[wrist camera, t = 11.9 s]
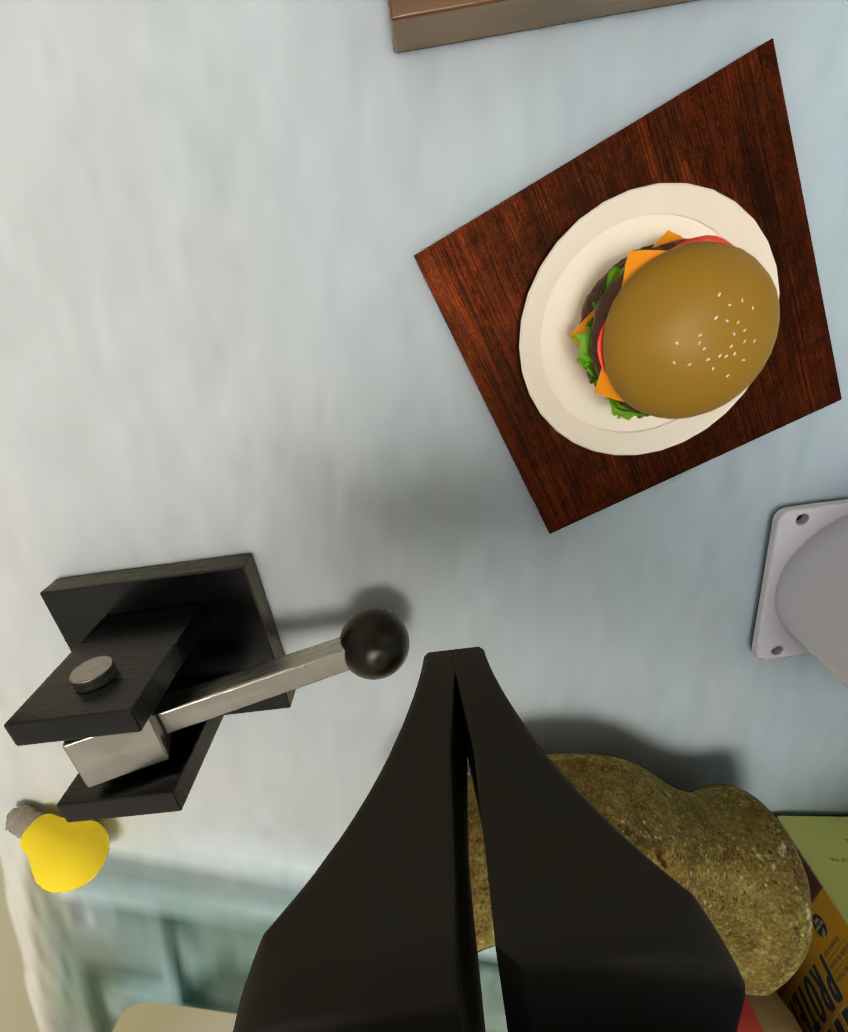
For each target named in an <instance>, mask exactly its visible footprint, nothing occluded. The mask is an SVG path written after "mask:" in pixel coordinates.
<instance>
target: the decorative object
mask: <svg viewBox="0 0 848 1032" xmlns="http://www.w3.org/2000/svg"><path fill="white" fill-rule="evenodd" d="M737 1032H803V1031H802V1029H801V1027H800V1026H799V1024H798V1023H797V1021H796V1019H795V1018H794V1016H793V1015H792V1013H791V1012H790V1011H789V1009H788V1008H787V1006H786V1005H785V1004H784V1002H783V1001H782V1000H781V998H780V997H779V995H778V994H777V992H776V991H774V992H773V993H771V994H769V995H760V996H756V995H748V994H745V1001H744V1005H743V1009H742V1013H741V1017H740V1021H739V1025H738V1029H737Z"/></svg>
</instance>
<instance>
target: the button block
mask: <svg viewBox="0 0 848 1032" xmlns="http://www.w3.org/2000/svg"><path fill="white" fill-rule="evenodd" d="M687 1H692V0H388V8H389V16H390V23H391V31H392V39H393V47H394V51H395V52H396V53H398V52H403V51H409V50H415V49H420V48H426V47H432V46H437V45H443V44H449V43H454V42H460V41H466V40H471V39H477V38H483V37H488V36H494V35H500V34H505V33H511V32H517V31H522V30H528V29H534V28H539V27H545V26H551V25H556V24H562V23H568V22H573V21H579V20H585V19H590V18H596V17H602V16H607V15H613V14H619V13H624V12H630V11H636V10H641V9H647V8H653V7H658V6H664V5H670V4H675V3H681V2H687Z"/></svg>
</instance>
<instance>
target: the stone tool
mask: <svg viewBox="0 0 848 1032" xmlns="http://www.w3.org/2000/svg"><path fill="white" fill-rule="evenodd" d="M547 756H548V757H549V758H550V759H551V761H552V762H553V763H554V764H555V765H556V767H557V768H558V769H559V770H560V771H561V772H562V774H563V775H564V776H565V777H566V778H567V779H568V780H569V781H570V783H571V784H572V785H573V786H574V787H575V788H576V789H577V790H578V791H579V792H580V794H581V795H582V796H583V797H584V798H585V799H586V800H587V801H588V802H589V803H590V804H591V805H592V806H593V807H594V808H595V809H596V810H597V811H598V812H599V813H600V814H601V815H602V816H603V817H604V818H605V819H606V820H607V821H608V822H610V823H611V824H612V825H613V826H614V827H615V828H616V829H617V830H618V831H619V832H620V833H621V834H622V835H623V836H624V837H625V838H626V839H628V840H629V841H630V842H631V843H632V844H633V845H634V846H635V847H636V848H638V849H639V850H640V851H641V852H642V853H643V854H644V855H645V856H647V857H648V858H649V859H650V860H651V861H653V862H654V863H655V864H656V865H657V866H659V867H660V868H661V869H662V870H663V871H664V872H666V873H667V874H668V875H669V876H671V877H672V878H673V879H674V880H676V881H677V882H678V883H679V884H681V885H682V886H683V887H684V888H686V889H687V890H688V891H689V892H691V893H692V894H693V896H694V897H695V898H696V900H697V901H698V903H699V904H700V906H701V907H702V908H703V910H704V911H705V913H706V914H707V916H708V917H709V919H710V920H711V922H712V924H713V925H714V927H715V928H716V930H717V931H718V933H719V935H720V936H721V938H722V940H723V941H724V943H725V945H726V947H727V948H728V950H729V952H730V954H731V955H732V957H733V959H734V961H735V963H736V965H737V967H738V969H739V972H740V974H741V976H742V978H743V981H744V983H745V994H748V995H756V996H760V995H769V994H771V993H773V992H774V991H776V990H777V989H779V988H780V987H781V986H782V985H784V984H785V983H786V982H787V981H788V980H789V979H790V978H791V977H792V976H793V975H794V974H795V972H796V971H797V970H798V968H799V967H800V966H801V964H802V963H803V961H804V959H805V957H806V955H807V953H808V951H809V947H810V943H811V940H812V929H813V914H812V902H811V894H810V887H809V882H808V878H807V875H806V872H805V869H804V866H803V864H802V861H801V859H800V857H799V854H798V852H797V850H796V848H795V845H794V844H793V842H792V840H791V839H790V837H789V835H788V834H787V832H786V830H785V829H784V827H783V826H782V825H781V823H780V822H779V821H778V820H777V818H776V817H775V816H774V815H773V814H772V812H771V811H770V810H769V809H768V808H767V807H766V806H765V805H763V804H762V803H761V802H760V801H759V800H758V799H757V798H756V797H754V796H752V795H751V794H749V793H748V792H745V791H743V790H741V789H739V788H737V787H734V786H730V785H724V784H713V785H706V786H703V787H700V788H698V789H696V790H694V791H693V792H684V791H681V790H678V789H676V788H674V787H672V786H670V785H669V784H667V783H666V782H664V781H662V780H661V779H659V778H658V777H656V776H655V775H653V774H652V773H651V772H649V771H647V770H646V769H644V768H642V767H640V766H638V765H636V764H634V763H631V762H629V761H627V760H624V759H621V758H618V757H613V756H607V755H598V754H548V755H547ZM468 828H469V865H470V881H471V891H472V901H473V912H474V922H475V932H476V942H477V952H480V951H482V950H485V949H487V948H490V947H493V946H495V938H494V928H493V919H492V910H491V901H490V892H489V882H488V873H487V864H486V855H485V846H484V837H483V830H482V825H481V820H480V815H479V810H478V805H477V800H476V796H475V791H474V786H473V781H472V777H468Z"/></svg>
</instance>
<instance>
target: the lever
mask: <svg viewBox="0 0 848 1032" xmlns="http://www.w3.org/2000/svg"><path fill="white" fill-rule="evenodd" d="M408 651H409V635H408V631H407V629H406V627H405V625H404V623H403V622H402V620H401V619H400V618H399V617H398V616H397V615H395V614H394V613H392V612H391V611H389V610H386V609H382V608H368V609H364V610H362V611H360V612H358V613H356V614H355V615H353V616H352V617H351V618H350V619H349V620H348V621H347V623H346V624H345V626H344V627H343V630H342V632H341V635H340V637H339V638H336V639H333V640H330V641H327V642H324V643H321V644H318V645H315V646H312V647H309V648H306V649H303V650H300V651H297V652H294V653H291V654H288V655H285V656H282V657H279V658H276V659H273V660H270V661H267V662H265V663H262V664H259V665H256V666H253V667H250V668H247V669H244V670H241V671H238V672H235V673H232V674H229V675H226V676H223V677H220V678H217V679H214V680H211V681H208V682H205V683H202V684H199V685H196V686H193V687H190V688H187V689H184V690H181V691H178V692H175V693H172V694H169V695H166V696H165V695H163V696H162V698H161V700H160V701H159V703H158V704H157V706H156V708H155V709H154V711H153V713H152V714H151V716H150V718H149V719H148V721H147V723H146V724H145V726H144V727H143V729H142V730H141V731H140V732H134V733H125V734H116V735H108V736H99V737H90V738H82V739H73V740H65V741H64V743H63V748H64V749H65V751H66V753H67V754H68V756H69V758H70V759H71V761H72V763H73V764H74V766H75V767H76V769H77V771H78V772H79V774H80V776H81V777H82V779H83V780H84V782H85V784H86V785H87V787H88V788H91V787H93V786H96V785H99V784H102V783H104V782H107V781H110V780H113V779H115V778H118V777H121V776H124V775H126V774H129V773H132V772H135V771H137V770H140V769H143V768H145V767H148V766H151V765H154V764H156V763H159V762H162V761H165V760H167V759H169V753H170V745H171V737H172V732H175V731H178V730H181V729H183V728H186V727H189V726H192V725H195V724H198V723H200V722H203V721H206V720H209V719H212V718H214V717H217V716H220V715H223V714H226V713H229V712H231V711H234V710H237V709H240V708H243V707H246V706H248V705H251V704H254V703H257V702H260V701H263V700H265V699H268V698H271V697H274V696H277V695H280V694H282V693H285V692H288V691H291V690H294V689H297V688H299V687H302V686H305V685H308V684H311V683H313V682H316V681H319V680H322V679H325V678H328V677H330V676H333V675H336V674H339V673H342V672H345V671H347V670H351V671H352V672H353V673H354V674H356V675H357V676H360V677H362V678H365V679H371V680H376V679H382V678H385V677H388V676H390V675H392V674H393V673H395V672H396V671H397V670H398V669H399V668H400V667H401V666H402V664H403V663H404V661H405V659H406V657H407V654H408Z"/></svg>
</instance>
